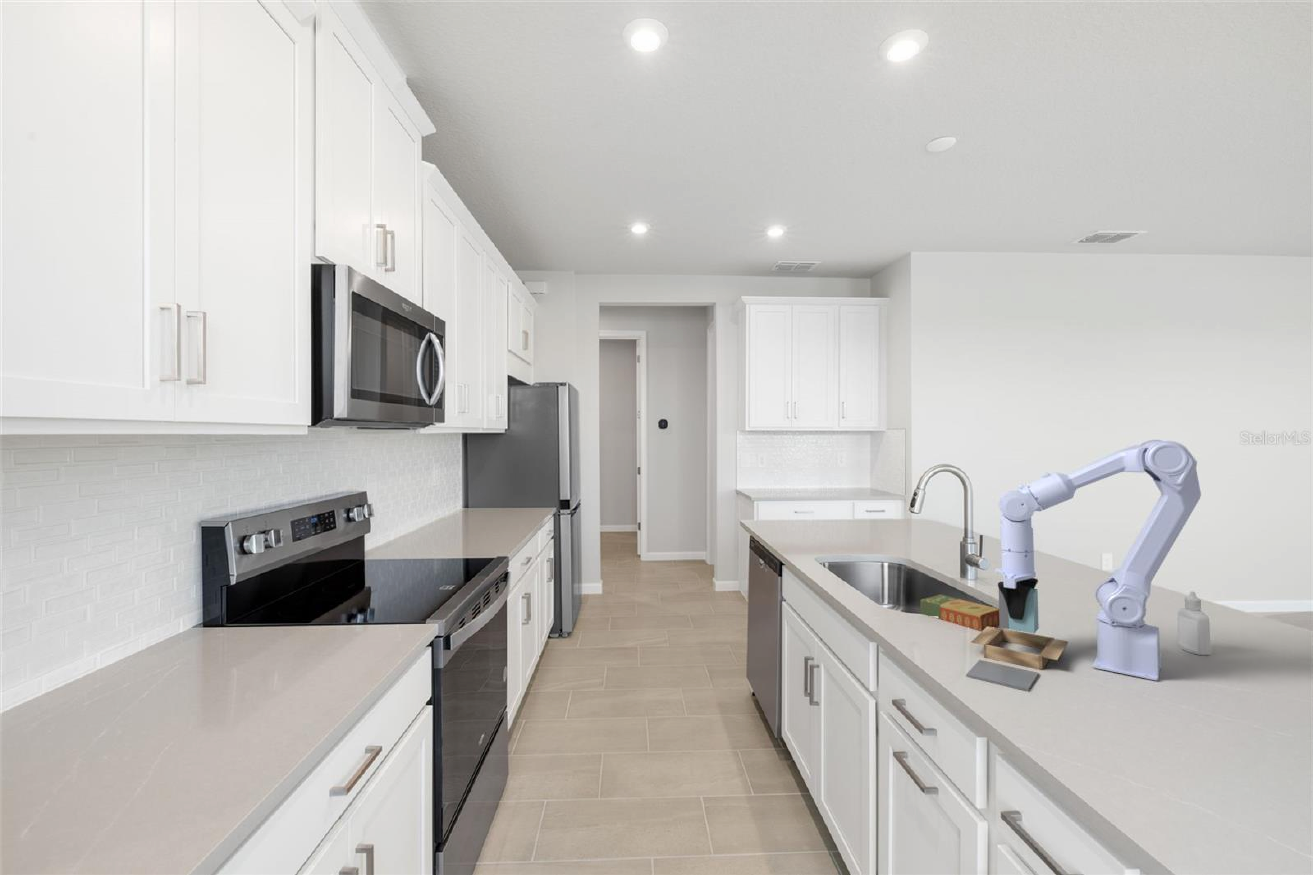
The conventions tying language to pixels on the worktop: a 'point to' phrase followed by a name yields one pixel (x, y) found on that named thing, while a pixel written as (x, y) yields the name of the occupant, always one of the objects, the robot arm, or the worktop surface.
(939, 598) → the carton
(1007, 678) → the slate coaster
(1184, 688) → the worktop surface
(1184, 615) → the eye dropper bottle
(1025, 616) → the capped box
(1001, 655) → the open carton
